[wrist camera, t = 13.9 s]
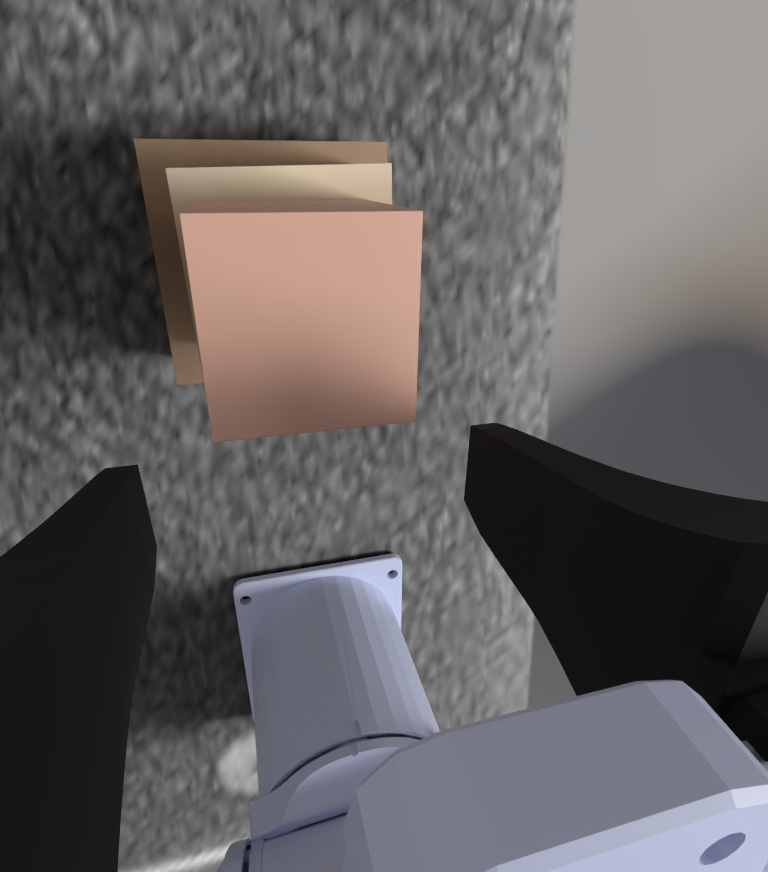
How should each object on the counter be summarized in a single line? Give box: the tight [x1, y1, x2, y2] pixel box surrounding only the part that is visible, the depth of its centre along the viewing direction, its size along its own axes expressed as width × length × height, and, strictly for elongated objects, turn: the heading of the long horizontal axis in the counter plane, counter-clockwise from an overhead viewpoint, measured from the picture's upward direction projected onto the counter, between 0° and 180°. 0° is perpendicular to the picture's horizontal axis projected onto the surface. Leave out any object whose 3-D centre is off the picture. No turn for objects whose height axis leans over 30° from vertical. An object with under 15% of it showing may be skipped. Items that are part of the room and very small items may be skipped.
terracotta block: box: [180, 200, 423, 443], centre depth 12 cm, size 4×4×4 cm
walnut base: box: [134, 139, 387, 385], centre depth 18 cm, size 7×7×3 cm
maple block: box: [165, 163, 392, 386], centre depth 15 cm, size 5×5×4 cm
